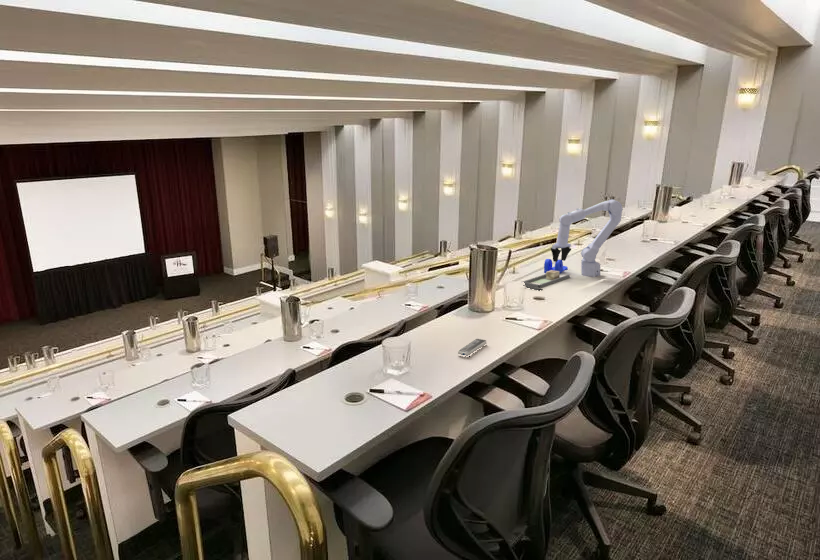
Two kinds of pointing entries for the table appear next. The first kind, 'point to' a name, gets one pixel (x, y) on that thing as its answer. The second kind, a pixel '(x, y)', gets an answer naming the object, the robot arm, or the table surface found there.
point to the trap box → (542, 281)
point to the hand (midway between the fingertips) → (559, 260)
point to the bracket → (557, 266)
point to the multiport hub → (472, 347)
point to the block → (552, 274)
